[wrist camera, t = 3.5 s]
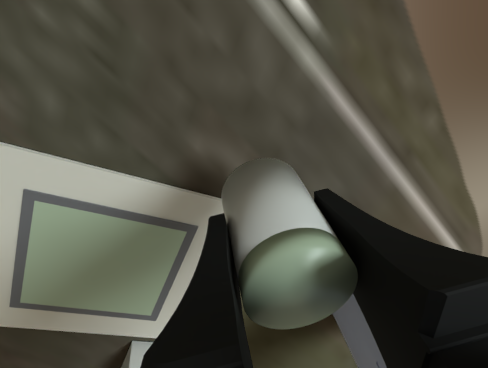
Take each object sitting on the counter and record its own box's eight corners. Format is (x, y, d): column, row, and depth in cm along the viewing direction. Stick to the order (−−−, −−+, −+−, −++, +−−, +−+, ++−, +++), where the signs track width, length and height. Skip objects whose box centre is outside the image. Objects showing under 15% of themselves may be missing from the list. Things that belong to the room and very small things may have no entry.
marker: (314, 171, 15) (380, 261, 10) (278, 231, 17) (319, 333, 12) (241, 147, 14) (277, 237, 9) (209, 215, 16) (224, 323, 11)
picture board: (237, 202, 21) (237, 205, 21) (170, 336, 27) (170, 340, 27) (-13, 138, 16) (-16, 141, 16) (-23, 321, 22) (-25, 325, 22)
